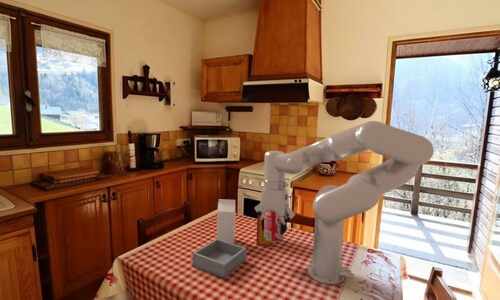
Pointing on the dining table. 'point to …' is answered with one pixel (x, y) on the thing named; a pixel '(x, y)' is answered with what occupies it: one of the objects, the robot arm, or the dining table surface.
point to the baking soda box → (261, 235)
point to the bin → (219, 258)
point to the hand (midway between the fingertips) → (273, 230)
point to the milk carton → (226, 220)
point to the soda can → (272, 226)
